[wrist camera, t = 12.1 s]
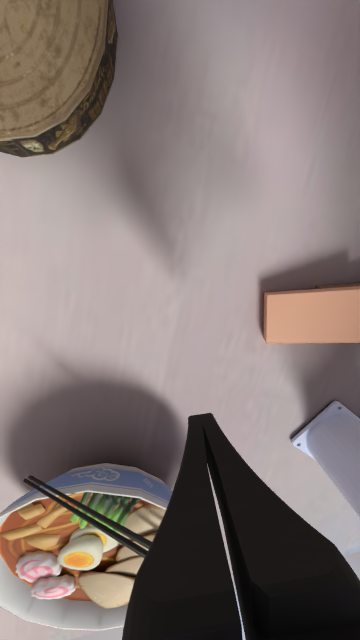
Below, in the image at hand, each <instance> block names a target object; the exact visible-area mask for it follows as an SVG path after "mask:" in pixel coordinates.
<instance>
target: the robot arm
mask: <svg viewBox="0 0 360 640" xmlns="http://www.w3.org/2000/svg"><path fill="white" fill-rule="evenodd" d="M291 443H292V444H293V445H294V446H295V447H297V448H298V449H300V450H301V451H303V452H304V453H306V454H307V455H309V456H310V457H312V458H313V459H315V460H316V461H317V462H318V464H319V465H320V466H321V468H322V469H323V470H324V472H325V473H326V474H327V476H328V477H329V478H330V480H331V481H332V482H333V484H334V485H335V486H336V488H337V489H338V490H339V492H340V493H341V494H342V496H343V497H344V498H345V500H346V501H347V502H348V504H349V505H350V506H351V508H352V509H353V510H354V511H355V513H356V514H357V515H358V517H359V518H360V418H358V417H357V416H356V415H355V414H353V413H352V412H351V411H350V410H348V409H347V408H346V407H345V406H343V405H342V404H341V403H340V402H338V401H334V402H332V403H331V404H330V405H329V406H328V407H327V408H326V409H325V410H323V411H322V412H321V413H320V414H319V415H318V416H317V417H316V418H315V419H314V420H312V421H311V422H310V423H309V424H308V425H307V426H306V427H305V428H304V429H302V430H301V431H300V432H299V433H298V434H297V435H296V436H295V437H294V438H293V439H292V440H291ZM207 464H208V467H207ZM208 468H209V471H210V475H211V479H212V482H213V486H214V490H215V494H216V497H217V501H218V505H219V508H220V512H221V516H222V521H223V525H224V530H225V535H226V540H227V545H228V550H229V555H230V560H231V565H232V570H233V576H234V581H235V586H236V590H237V596H238V601H239V606H240V612H241V617H242V622H243V626H244V632H245V638H246V640H360V580H359V579H358V577H357V576H356V574H355V573H354V571H353V570H352V568H351V567H350V565H349V564H348V562H347V561H346V560H345V558H344V557H343V555H342V554H341V553H340V551H339V550H338V549H337V547H336V546H335V545H334V544H333V543H332V542H331V541H329V540H328V539H327V538H326V537H324V536H323V535H322V534H321V533H319V532H318V531H317V530H316V529H314V528H313V527H312V526H311V525H310V524H308V523H307V522H306V521H305V520H304V519H303V518H301V517H300V516H299V515H298V514H297V513H296V512H295V511H293V510H292V509H291V508H290V507H289V506H288V505H287V504H286V503H285V502H284V501H283V500H281V499H280V498H279V497H278V496H277V495H276V494H275V493H274V492H273V491H272V490H271V489H270V488H269V487H268V486H267V485H266V484H265V483H264V482H263V481H262V480H261V479H260V478H259V477H258V476H257V475H256V473H255V472H254V471H253V470H252V469H251V468H250V467H249V466H248V465H247V463H246V462H245V461H244V460H243V459H242V457H241V456H240V455H239V454H238V452H237V451H236V450H235V448H234V447H233V446H232V444H231V443H230V442H229V440H228V439H227V438H226V436H225V435H224V433H223V432H222V430H221V429H220V427H219V425H218V424H217V422H216V420H215V418H214V416H213V414H211V413H207V414H200V415H193V416H189V417H188V433H187V440H186V445H185V451H184V455H183V459H182V463H181V467H180V471H179V474H178V477H177V481H176V484H175V487H174V490H173V493H172V495H171V498H170V501H169V504H168V506H167V509H166V511H165V514H164V516H163V519H162V521H161V523H160V526H159V528H158V530H157V532H156V535H155V537H154V539H153V541H152V544H151V546H150V548H149V550H148V552H147V554H146V556H145V558H144V560H143V562H142V564H141V566H140V568H139V570H138V572H137V574H136V577H135V581H134V584H133V588H132V591H131V595H130V599H129V603H128V607H127V612H126V618H125V623H124V629H123V637H122V640H242V627H241V620H240V616H239V611H238V606H237V601H236V596H235V591H234V586H233V582H232V578H231V573H230V569H229V565H228V560H227V556H226V551H225V547H224V542H223V538H222V533H221V529H220V524H219V520H218V515H217V511H216V506H215V501H214V497H213V492H212V487H211V482H210V477H209V473H208Z"/></svg>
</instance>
